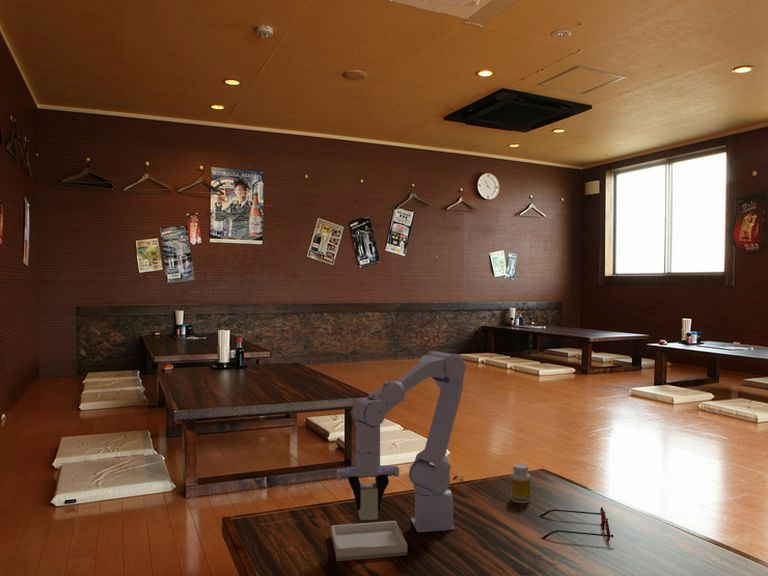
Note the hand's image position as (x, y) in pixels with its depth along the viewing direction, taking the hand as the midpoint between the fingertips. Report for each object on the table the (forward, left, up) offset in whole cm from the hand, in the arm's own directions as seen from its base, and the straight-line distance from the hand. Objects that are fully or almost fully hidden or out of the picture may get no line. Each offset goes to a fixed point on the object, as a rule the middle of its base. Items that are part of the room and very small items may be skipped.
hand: (368, 507), depth 136 cm
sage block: (0, 0, -2) cm, 2 cm away
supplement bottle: (-47, -20, -9) cm, 52 cm away
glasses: (-52, +1, -9) cm, 53 cm away
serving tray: (0, 0, -9) cm, 9 cm away
